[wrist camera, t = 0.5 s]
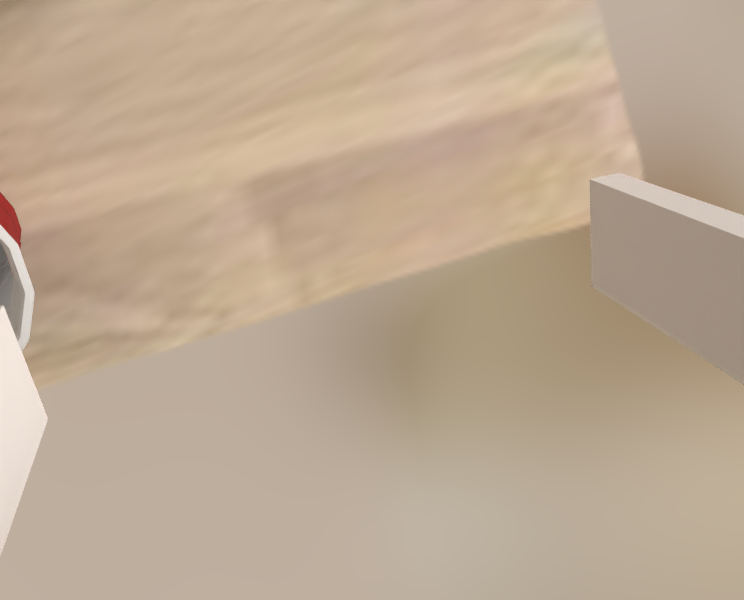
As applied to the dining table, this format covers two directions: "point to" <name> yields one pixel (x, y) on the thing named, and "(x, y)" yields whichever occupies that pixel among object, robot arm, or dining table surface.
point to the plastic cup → (14, 275)
